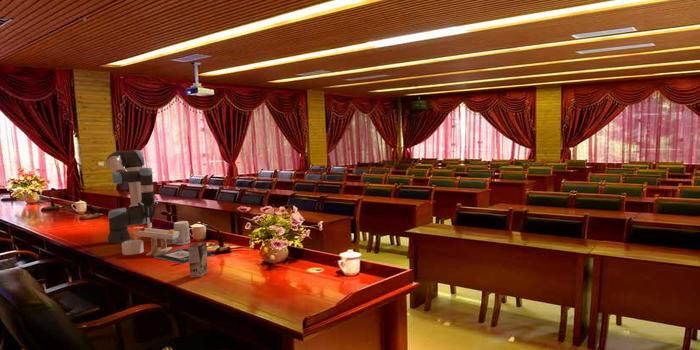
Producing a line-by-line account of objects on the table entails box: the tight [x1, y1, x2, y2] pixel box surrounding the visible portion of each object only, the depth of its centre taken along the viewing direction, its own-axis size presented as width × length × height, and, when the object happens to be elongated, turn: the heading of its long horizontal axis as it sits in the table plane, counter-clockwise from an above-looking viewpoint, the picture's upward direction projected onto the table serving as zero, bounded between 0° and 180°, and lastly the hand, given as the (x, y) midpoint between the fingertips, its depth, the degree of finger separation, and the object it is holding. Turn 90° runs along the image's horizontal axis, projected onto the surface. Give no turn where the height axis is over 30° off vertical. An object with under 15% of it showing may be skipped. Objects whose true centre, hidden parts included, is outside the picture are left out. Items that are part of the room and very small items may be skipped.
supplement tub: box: [173, 220, 191, 246], centre depth 313 cm, size 10×10×15 cm
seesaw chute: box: [137, 227, 179, 245], centre depth 295 cm, size 22×18×7 cm
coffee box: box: [188, 241, 209, 278], centre depth 238 cm, size 9×6×16 cm
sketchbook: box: [153, 247, 215, 265], centre depth 279 cm, size 22×30×2 cm
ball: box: [168, 229, 175, 234], centre depth 291 cm, size 4×4×4 cm
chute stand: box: [145, 237, 173, 257], centre depth 292 cm, size 9×17×10 cm, turn 178°
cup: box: [121, 239, 145, 256], centre depth 292 cm, size 11×11×7 cm
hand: (149, 227), depth 301 cm, fingers closed
